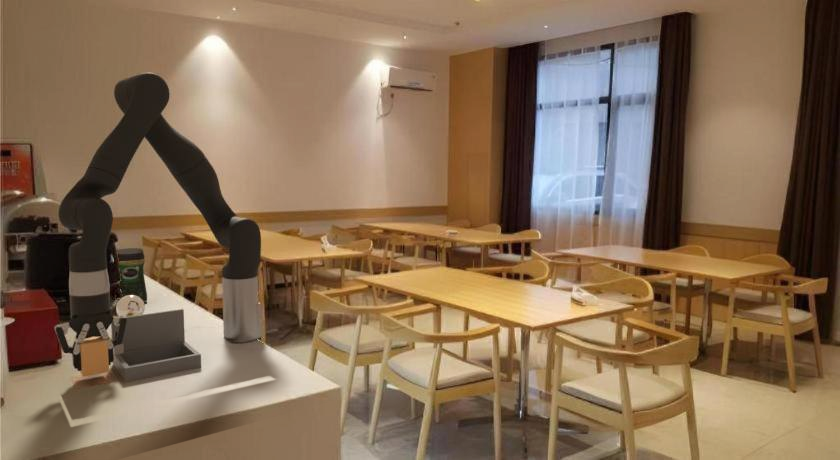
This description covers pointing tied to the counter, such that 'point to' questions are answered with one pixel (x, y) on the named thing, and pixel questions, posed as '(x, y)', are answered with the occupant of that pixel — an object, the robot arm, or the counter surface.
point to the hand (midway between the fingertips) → (93, 366)
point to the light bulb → (130, 306)
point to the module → (94, 356)
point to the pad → (93, 379)
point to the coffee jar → (132, 272)
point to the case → (154, 346)
